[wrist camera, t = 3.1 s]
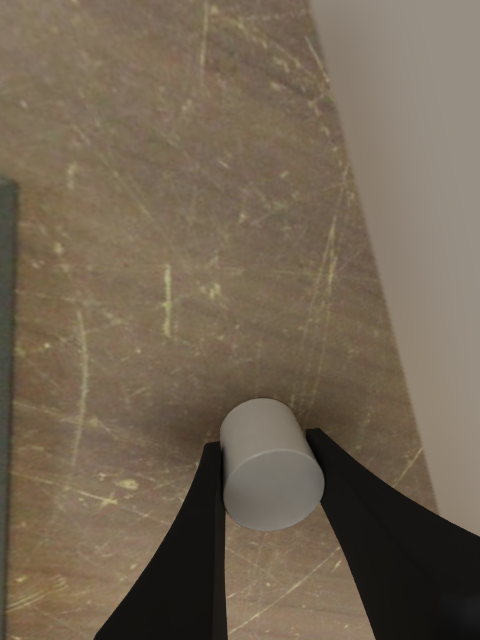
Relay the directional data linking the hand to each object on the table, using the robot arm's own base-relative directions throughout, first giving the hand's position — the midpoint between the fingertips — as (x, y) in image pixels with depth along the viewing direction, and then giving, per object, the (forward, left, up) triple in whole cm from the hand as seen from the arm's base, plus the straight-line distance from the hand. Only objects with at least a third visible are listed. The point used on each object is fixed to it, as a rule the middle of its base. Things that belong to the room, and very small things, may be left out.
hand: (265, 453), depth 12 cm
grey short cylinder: (0, 0, -1) cm, 1 cm away
